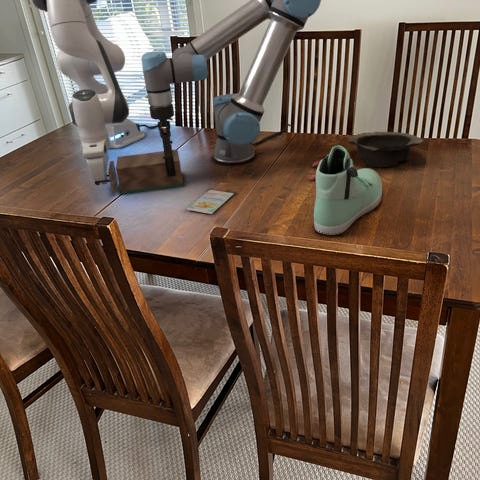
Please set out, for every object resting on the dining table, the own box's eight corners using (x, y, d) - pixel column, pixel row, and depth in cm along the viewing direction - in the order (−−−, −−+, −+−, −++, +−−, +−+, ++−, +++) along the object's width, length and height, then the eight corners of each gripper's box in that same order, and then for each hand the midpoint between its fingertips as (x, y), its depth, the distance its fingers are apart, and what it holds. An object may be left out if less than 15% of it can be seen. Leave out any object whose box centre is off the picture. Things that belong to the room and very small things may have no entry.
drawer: (96, 194, 157) (91, 174, 154) (98, 182, 165) (93, 163, 162) (170, 184, 160) (167, 164, 156) (169, 173, 168) (166, 154, 164)
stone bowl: (380, 178, 154) (381, 150, 149) (333, 160, 174) (332, 135, 170) (437, 159, 162) (439, 132, 158) (385, 144, 183) (386, 120, 178)
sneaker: (389, 187, 148) (396, 123, 138) (356, 242, 123) (361, 168, 112) (346, 181, 154) (350, 119, 144) (306, 232, 129) (307, 161, 118)
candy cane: (296, 178, 159) (296, 174, 158) (317, 162, 169) (317, 158, 168) (312, 182, 156) (312, 178, 155) (333, 165, 166) (333, 161, 165)
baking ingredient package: (185, 208, 144) (210, 188, 156) (186, 209, 145) (210, 190, 156) (211, 213, 141) (234, 192, 152) (211, 214, 141) (234, 193, 152)
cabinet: (121, 194, 158) (115, 168, 153) (122, 181, 167) (117, 156, 163) (183, 185, 160) (179, 160, 156) (181, 173, 170) (177, 149, 165)
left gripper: (88, 134, 162) (97, 171, 169) (82, 155, 145) (92, 196, 152) (107, 131, 163) (116, 169, 170) (103, 152, 145) (112, 193, 153)
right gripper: (148, 96, 160) (158, 158, 172) (149, 116, 141) (160, 184, 152) (170, 94, 161) (179, 155, 173) (174, 113, 142) (184, 181, 153)
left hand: (104, 182), depth 161 cm, fingers closed
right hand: (170, 169), depth 162 cm, fingers closed on cabinet, 11 cm apart
